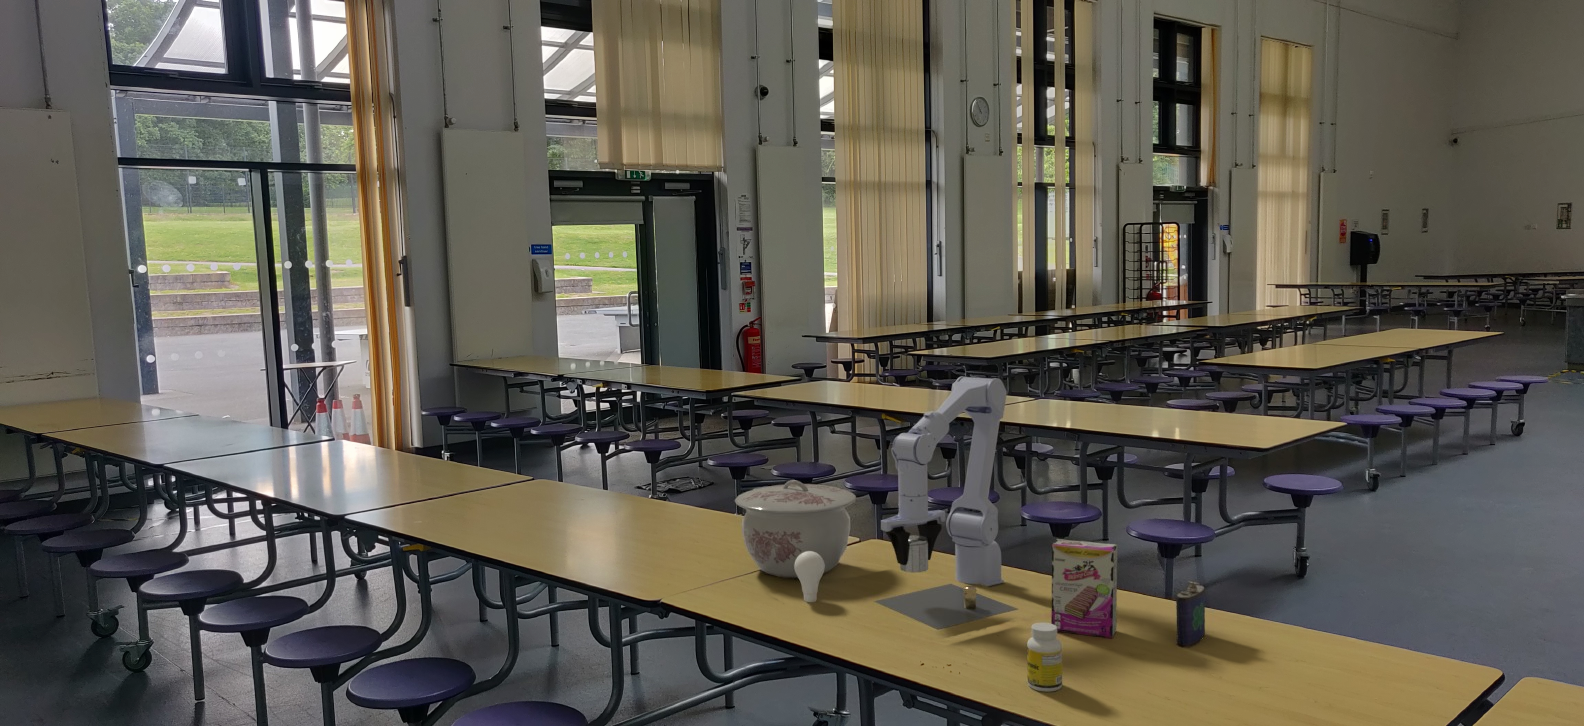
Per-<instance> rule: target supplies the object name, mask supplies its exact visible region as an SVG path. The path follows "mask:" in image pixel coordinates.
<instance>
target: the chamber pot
mask: <svg viewBox="0 0 1584 726" xmlns="http://www.w3.org/2000/svg"><path fill="white" fill-rule="evenodd" d="M856 498H857V496H856V495H855V493H853V492H851V491H850V490H847V489H844V488H840V487H836V486H833V485H832V486H831V485H826V484H812V483H802V482H801V481H800V480H795V479H789V480H787V481H786V483H784V484H776V485H771V486H770V485H769V486H762V487H759V488H758V487H756V488H752V489H751V490H748V491H745V492H742V493H741V494H738V496H737V497H736V498H735V499H734V503H735V504H736V505H737V506H738V507H740V508H743V510H745V514H744V516H743V517H742V520H741V533H742V538H743V541H744V546H745V549H746V550H747V552H748V554H749V555H750V557H751V559H752V561H754V563H755V565H756V567H757V568H758V569H759V570H760V571H761V572H764V573H766V574H769V575H771V576H774V577H778V578H785V579H786V578H787V579H799V578H798V576H797V574H796V572H795V569H794V565H795V561H796V559H797V557H798V556H799V555H800V554H802V553H804V552H806V551H813V552H815V553H817V554H819V555H820V556H821V557H822V559H823V561H824V564H825V569H824V572H823V574H825V573H827V572H830V571H831V570H833V569H834V568H835V567H836V566H837V565H838V564H839V562H840V560H841V558H842V556H843V555H844V553H845V552H846V550H847V547H848V543H849V542H848V541H849V537H850V531H851V517H850V514H849V513H848V511H847V510H846V507H848V506H850V505H851V504H853V503H854V502H855V501H856Z"/></svg>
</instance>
